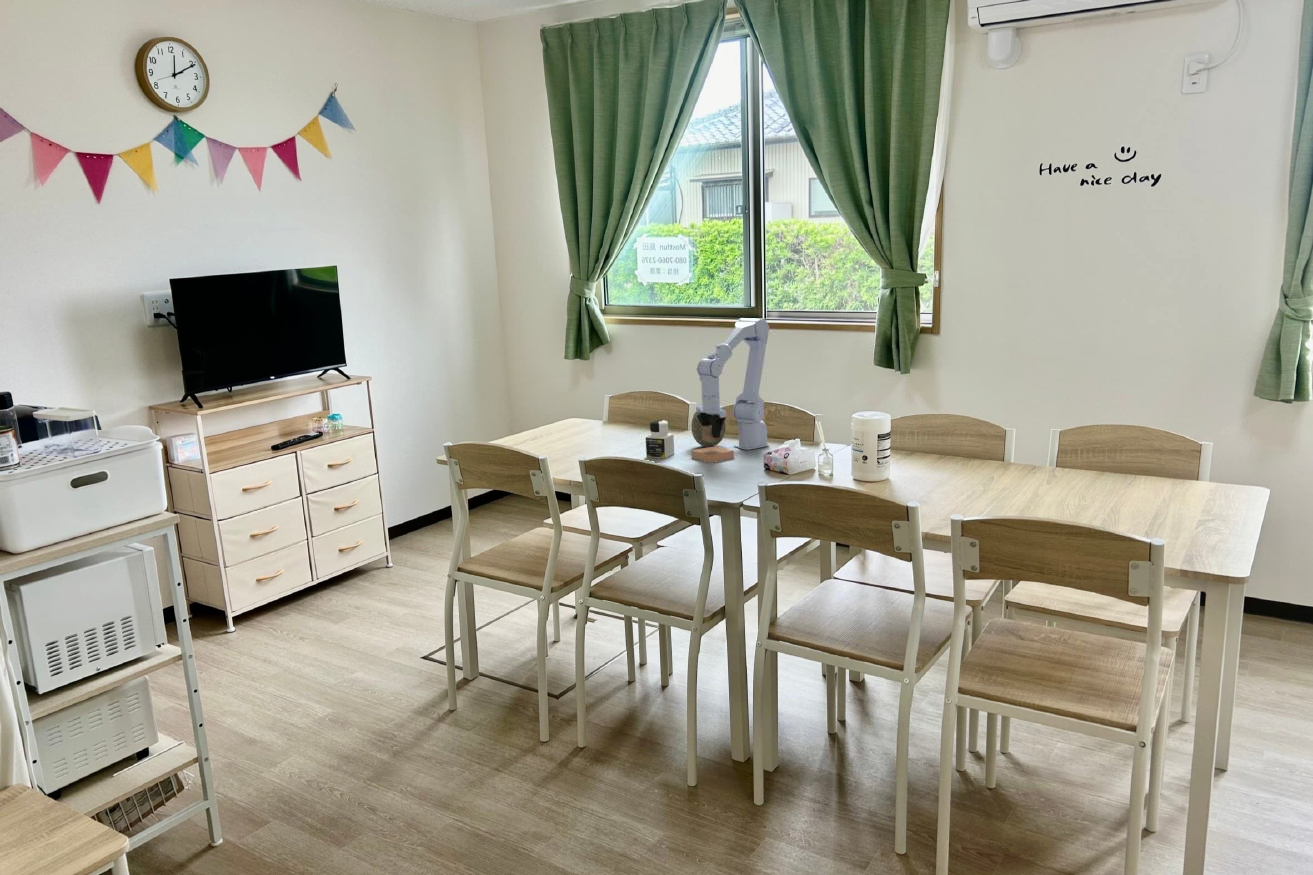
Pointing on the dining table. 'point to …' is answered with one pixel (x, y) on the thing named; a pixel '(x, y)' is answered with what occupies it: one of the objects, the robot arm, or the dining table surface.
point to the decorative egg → (697, 431)
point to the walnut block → (709, 434)
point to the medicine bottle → (659, 440)
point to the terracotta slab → (712, 454)
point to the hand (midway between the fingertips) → (711, 436)
